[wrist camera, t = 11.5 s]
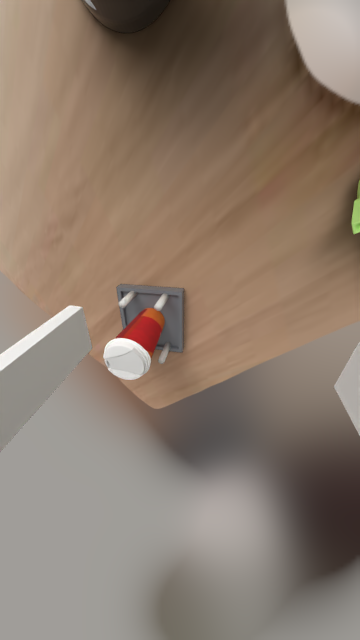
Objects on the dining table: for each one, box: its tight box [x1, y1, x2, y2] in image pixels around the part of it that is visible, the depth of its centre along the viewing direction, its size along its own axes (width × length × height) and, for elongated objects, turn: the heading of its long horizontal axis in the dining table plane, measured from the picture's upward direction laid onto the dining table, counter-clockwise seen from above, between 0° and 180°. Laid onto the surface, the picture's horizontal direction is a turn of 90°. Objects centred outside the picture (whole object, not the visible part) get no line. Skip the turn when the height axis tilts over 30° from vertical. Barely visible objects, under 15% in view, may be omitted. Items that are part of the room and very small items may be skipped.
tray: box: [116, 284, 184, 364], centre depth 46 cm, size 15×14×7 cm
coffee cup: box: [103, 308, 165, 380], centre depth 42 cm, size 8×8×15 cm
